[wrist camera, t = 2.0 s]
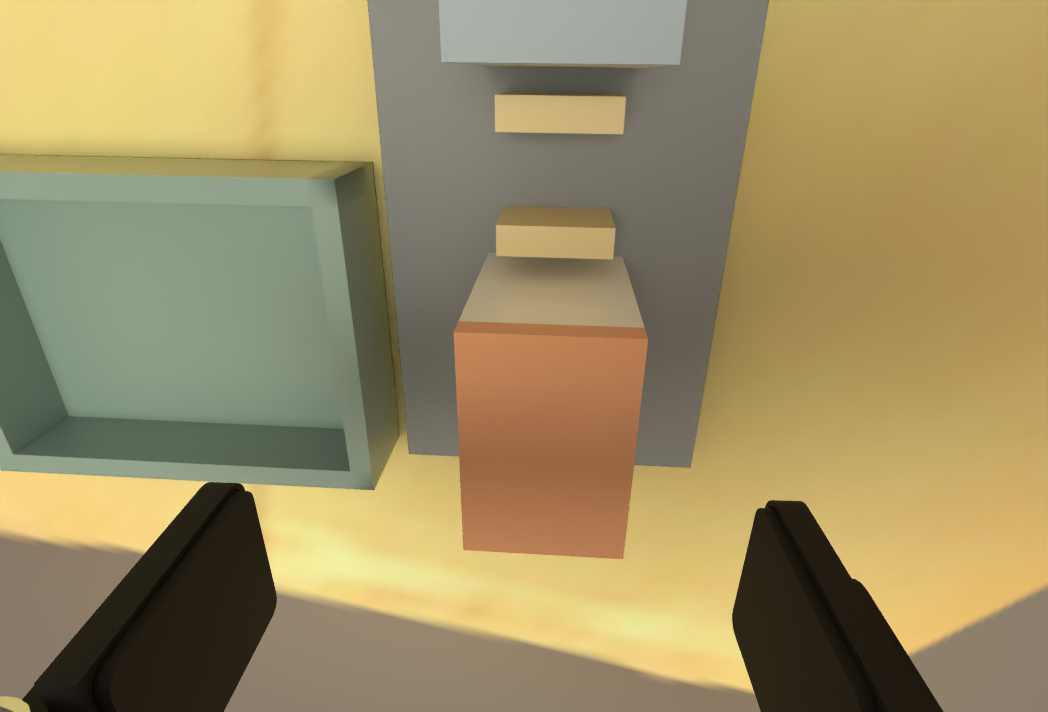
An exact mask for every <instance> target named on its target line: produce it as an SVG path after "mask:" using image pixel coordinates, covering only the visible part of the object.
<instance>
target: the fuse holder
mask: <svg viewBox="0 0 1048 712" xmlns="http://www.w3.org/2000/svg"><path fill="white" fill-rule="evenodd" d="M367 1H368V12H369V23H370V34H371V44H372V55H373V66H374V77H375V88H376V99H377V110H378V121H379V132H380V143H381V154H382V165H383V176H384V187H385V198H386V208H387V219H388V230H389V241H390V252H391V263H392V274H393V285H394V296H395V307H396V318H397V329H398V340H399V351H400V362H401V372H402V383H403V394H404V405H405V416H406V427H407V438H408V449H409V454H422V455H442V456H459V438H458V416H457V394H456V372H455V350H454V330H455V328H456V326H457V323H458V321H459V319H460V317H461V314H462V312H463V310H464V308H465V305H466V303H467V301H468V298H469V296H470V294H471V292H472V289H473V287H474V285H475V282H476V280H477V278H478V276H479V273H480V271H481V269H482V267H483V264H484V262H485V260H486V257H487V255H488V253H496V256H512V257H546V258H580V259H613V256H621V257H623V259H624V263H625V266H626V269H627V272H628V276H629V279H630V282H631V285H632V288H633V292H634V295H635V298H636V301H637V305H638V308H639V311H640V314H641V318H642V321H643V324H644V327H645V331H646V334H647V337H648V346H647V354H646V363H645V372H644V380H643V389H642V398H641V406H640V415H639V424H638V433H637V441H636V450H635V459H634V465H647V466H668V467H688V468H691V462H692V456H693V450H694V444H695V438H696V432H697V426H698V420H699V414H700V408H701V402H702V396H703V390H704V384H705V378H706V372H707V366H708V360H709V354H710V348H711V343H712V337H713V331H714V325H715V319H716V313H717V307H718V301H719V295H720V289H721V283H722V277H723V271H724V265H725V259H726V253H727V247H728V241H729V235H730V229H731V223H732V217H733V211H734V205H735V199H736V193H737V187H738V182H739V176H740V170H741V164H742V158H743V152H744V146H745V140H746V134H747V128H748V122H749V116H750V110H751V104H752V98H753V92H754V86H755V80H756V74H757V68H758V62H759V56H760V50H761V44H762V38H763V32H764V26H765V20H766V15H767V9H768V3H769V0H367Z"/></svg>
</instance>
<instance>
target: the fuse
mask: <svg viewBox="0 0 1048 712" xmlns="http://www.w3.org/2000/svg"><path fill="white" fill-rule="evenodd" d="M647 346H648V337H647V334H646V331H645V327H644V324H643V321H642V318H641V314H640V311H639V308H638V305H637V301H636V298H635V295H634V292H633V288H632V285H631V282H630V279H629V276H628V272H627V269H626V266H625V263H624V259H623V257H621V256H613V259H580V258H546V257H512V256H496V253H488V255H487V257H486V260H485V262H484V264H483V267H482V269H481V271H480V273H479V276H478V278H477V280H476V282H475V285H474V287H473V289H472V292H471V294H470V296H469V298H468V301H467V303H466V305H465V308H464V310H463V312H462V314H461V317H460V319H459V321H458V323H457V326H456V328H455V330H454V350H455V372H456V394H457V416H458V438H459V460H460V482H461V504H462V526H463V547H464V550H474V551H492V552H509V553H527V554H544V555H561V556H579V557H596V558H613V559H623V554H624V546H625V537H626V528H627V520H628V511H629V502H630V493H631V485H632V476H633V467H634V459H635V450H636V441H637V433H638V424H639V415H640V406H641V398H642V389H643V380H644V372H645V363H646V354H647Z"/></svg>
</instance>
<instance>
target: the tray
mask: <svg viewBox="0 0 1048 712" xmlns="http://www.w3.org/2000/svg"><path fill="white" fill-rule="evenodd" d="M398 437H399V425H398V415H397V405H396V395H395V385H394V375H393V364H392V354H391V344H390V334H389V324H388V314H387V303H386V293H385V283H384V273H383V263H382V253H381V243H380V232H379V222H378V212H377V202H376V192H375V182H374V171H373V162H341V161H293V160H245V159H198V158H150V157H103V156H55V155H7V154H0V469H1V471H18V472H38V473H57V474H76V475H95V476H114V477H133V478H152V479H171V480H190V481H209V482H229V483H248V484H267V485H286V486H305V487H324V488H343V489H362V490H374V489H375V487H376V485H377V483H378V480H379V478H380V476H381V474H382V472H383V470H384V468H385V465H386V463H387V461H388V459H389V457H390V455H391V452H392V450H393V448H394V446H395V444H396V442H397V440H398Z"/></svg>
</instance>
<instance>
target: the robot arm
mask: <svg viewBox="0 0 1048 712" xmlns="http://www.w3.org/2000/svg"><path fill="white" fill-rule="evenodd" d="M276 599H277V597H276V591H275V586H274V582H273V578H272V574H271V569H270V565H269V561H268V557H267V552H266V548H265V544H264V540H263V536H262V531H261V527H260V523H259V519H258V514H257V510H256V506H255V502H254V498H253V495H252V493H251V492H248V491H245V489H244V487H243V486H242V485H241V484H239V483H220V482H209V483H206V484H204V485H203V486H202V487H201V488H200V489H199V491H198V492H197V493H196V494H195V495H194V496H193V498H192V499H191V500H190V501H189V502H188V504H187V505H186V506H185V507H184V508H183V509H182V511H181V512H180V513H179V514H178V515H177V516H176V518H175V519H174V520H173V521H172V522H171V523H170V525H169V526H168V527H167V528H166V529H165V531H164V532H163V533H162V534H161V535H160V536H159V538H158V539H157V540H156V541H155V542H154V543H153V545H152V546H151V547H150V548H149V549H148V550H147V552H146V553H145V554H144V555H143V556H142V558H141V559H140V560H139V561H138V562H137V563H136V565H135V566H134V567H133V568H132V569H131V570H130V572H129V573H128V574H127V575H126V576H125V578H124V579H123V580H122V581H121V582H120V583H119V585H118V586H117V587H116V588H115V589H114V590H113V592H112V593H111V594H110V595H109V596H108V597H107V599H106V600H105V601H104V602H103V603H102V604H101V606H100V607H99V608H98V609H97V610H96V612H95V613H94V614H93V615H92V616H91V618H90V619H89V620H88V621H87V622H86V623H85V624H84V626H83V627H82V628H81V629H80V630H79V632H78V633H77V634H76V635H75V636H74V637H73V639H72V640H71V641H70V642H69V643H68V644H67V646H66V647H65V648H64V649H63V650H62V651H61V653H60V654H59V655H58V656H57V657H56V658H55V660H54V661H53V662H52V663H51V664H50V666H49V667H48V668H47V669H46V670H45V671H44V673H43V674H42V675H41V676H40V677H39V678H38V680H37V681H36V682H35V683H34V684H35V685H34V686H33V688H32V689H31V690H30V691H29V692H28V693H27V695H26V696H25V697H24V698H23V699H22V700H21V699H19V698H14V697H7V696H3V697H0V712H224V710H225V708H226V706H227V704H228V702H229V700H230V698H231V696H232V694H233V692H234V691H235V689H236V687H237V685H238V683H239V681H240V679H241V677H242V675H243V673H244V671H245V669H246V667H247V665H248V663H249V661H250V659H251V657H252V655H253V653H254V652H255V650H256V648H257V646H258V644H259V642H260V640H261V638H262V636H263V634H264V632H265V630H266V628H267V626H268V624H269V622H270V620H271V618H272V616H273V614H274V611H275V608H276V601H277V600H276ZM732 621H733V629H734V633H735V636H736V639H737V642H738V645H739V648H740V651H741V654H742V657H743V660H744V663H745V666H746V669H747V672H748V675H749V678H750V681H751V684H752V686H753V689H754V692H755V695H756V698H757V701H758V704H759V707H760V710H761V712H943V710H942V709H941V707H940V706H939V704H938V703H937V701H936V699H935V698H934V696H933V694H932V693H931V692H930V690H929V688H928V687H927V685H926V683H925V682H924V680H923V679H922V677H921V675H920V674H919V672H918V671H917V669H916V668H915V666H914V664H913V663H912V661H911V659H910V658H909V656H908V655H907V653H906V651H905V650H904V648H903V647H902V645H901V644H900V642H899V640H898V639H897V637H896V636H895V634H894V632H893V631H892V629H891V628H890V626H889V624H888V623H887V621H886V620H885V618H884V616H883V615H882V613H881V612H880V610H879V609H878V607H877V605H876V604H875V602H874V601H873V599H872V597H871V596H870V594H869V593H868V591H867V590H866V589H865V587H864V586H863V585H862V584H861V583H860V582H859V581H857V580H856V579H852V578H851V577H850V575H849V573H848V572H847V570H846V569H845V567H844V565H843V564H842V562H841V560H840V559H839V557H838V556H837V554H836V552H835V551H834V549H833V547H832V546H831V544H830V542H829V541H828V539H827V538H826V536H825V534H824V533H823V531H822V529H821V528H820V526H819V525H818V523H817V521H816V520H815V518H814V516H813V515H812V513H811V511H810V510H809V508H808V507H807V505H806V504H805V503H804V502H801V501H775V500H771V501H769V502H768V503H767V504H766V507H765V508H759V509H758V510H757V511H756V514H755V518H754V522H753V527H752V531H751V535H750V540H749V544H748V548H747V553H746V557H745V561H744V565H743V570H742V574H741V578H740V583H739V587H738V591H737V596H736V600H735V604H734V608H733V614H732Z"/></svg>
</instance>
